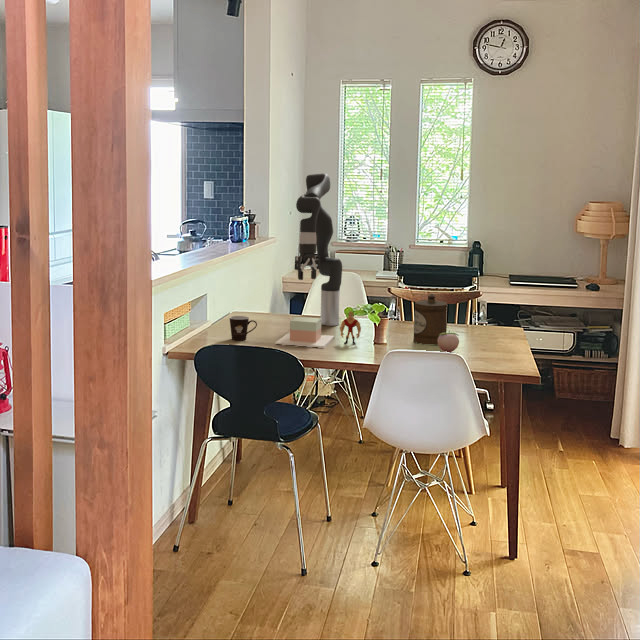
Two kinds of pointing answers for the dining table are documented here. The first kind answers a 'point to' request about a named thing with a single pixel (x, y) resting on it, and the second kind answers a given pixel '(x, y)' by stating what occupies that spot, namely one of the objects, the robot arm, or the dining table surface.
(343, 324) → the action figure
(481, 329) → the dining table surface
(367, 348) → the dining table surface
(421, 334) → the wooden container
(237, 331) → the coffee mug
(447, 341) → the decorative fruit
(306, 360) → the dining table surface
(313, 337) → the two-tone green pink block
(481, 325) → the dining table surface
